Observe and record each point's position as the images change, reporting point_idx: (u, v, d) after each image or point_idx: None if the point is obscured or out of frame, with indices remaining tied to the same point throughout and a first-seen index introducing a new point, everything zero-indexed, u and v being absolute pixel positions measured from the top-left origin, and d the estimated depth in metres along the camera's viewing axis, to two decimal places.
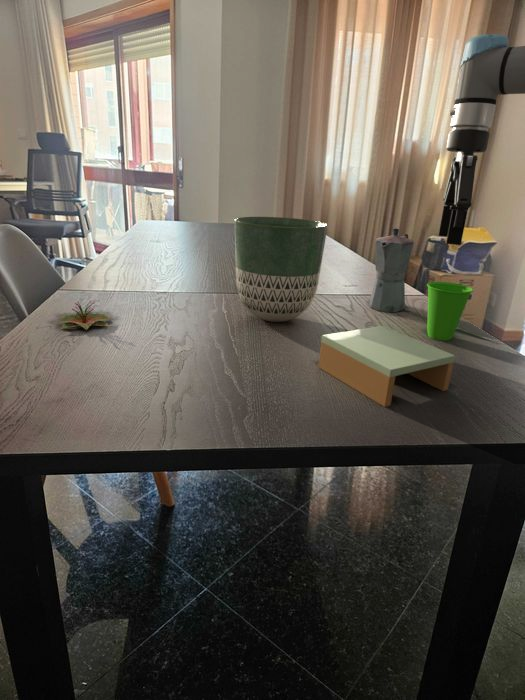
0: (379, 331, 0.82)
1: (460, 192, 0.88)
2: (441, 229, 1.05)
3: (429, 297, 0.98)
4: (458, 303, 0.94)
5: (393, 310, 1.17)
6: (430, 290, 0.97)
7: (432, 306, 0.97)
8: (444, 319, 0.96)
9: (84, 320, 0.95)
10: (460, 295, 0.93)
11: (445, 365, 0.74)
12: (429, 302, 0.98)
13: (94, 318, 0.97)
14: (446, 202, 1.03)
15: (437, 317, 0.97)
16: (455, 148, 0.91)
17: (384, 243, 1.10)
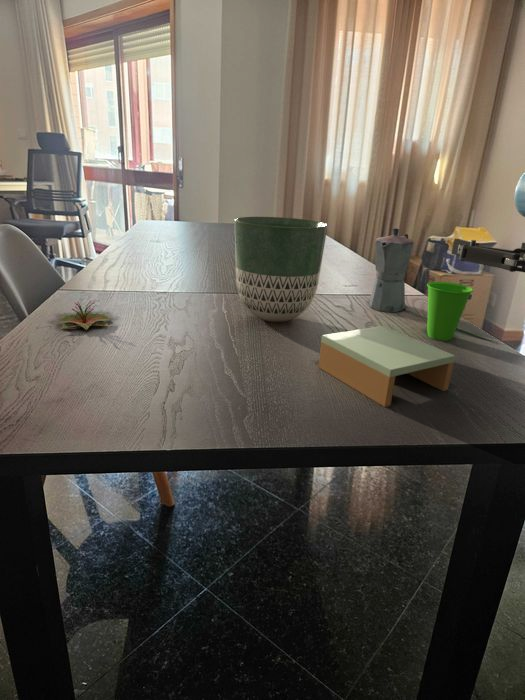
0: (379, 331, 0.82)
1: None
2: None
3: (429, 297, 0.98)
4: (458, 303, 0.94)
5: (393, 310, 1.17)
6: (430, 290, 0.97)
7: (432, 306, 0.97)
8: (444, 319, 0.96)
9: (84, 320, 0.95)
10: (460, 295, 0.93)
11: (445, 365, 0.74)
12: (429, 302, 0.98)
13: (94, 318, 0.97)
14: None
15: (437, 317, 0.97)
16: None
17: (384, 243, 1.10)
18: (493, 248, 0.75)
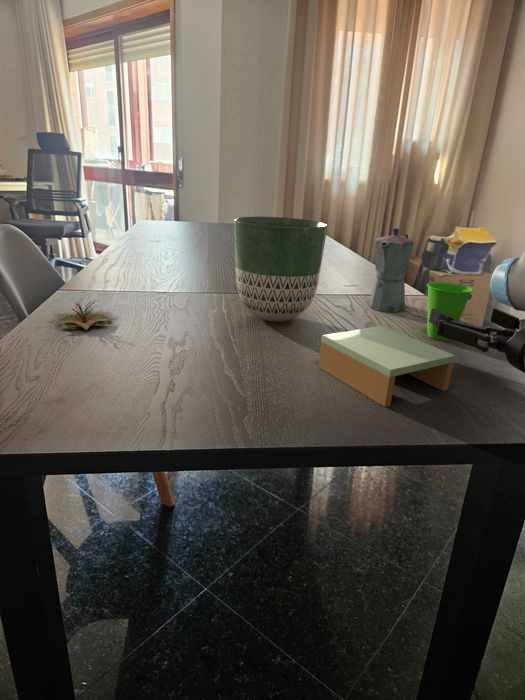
0: (379, 331, 0.82)
1: None
2: None
3: (429, 297, 0.98)
4: (458, 303, 0.94)
5: (393, 310, 1.17)
6: (430, 290, 0.97)
7: (432, 306, 0.97)
8: None
9: (84, 320, 0.95)
10: (460, 295, 0.93)
11: (445, 365, 0.74)
12: (429, 302, 0.98)
13: (94, 318, 0.97)
14: None
15: None
16: None
17: (384, 243, 1.10)
18: (467, 325, 0.82)
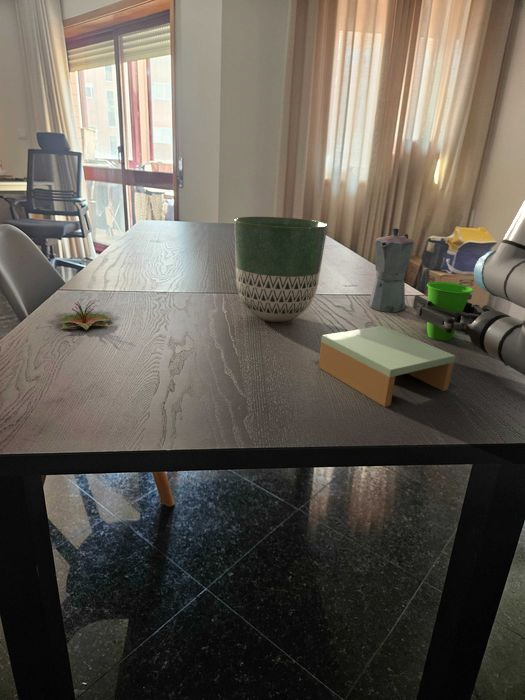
0: (379, 331, 0.82)
1: None
2: None
3: (429, 297, 0.98)
4: (458, 303, 0.94)
5: (393, 310, 1.17)
6: (430, 290, 0.97)
7: None
8: None
9: (84, 320, 0.95)
10: (460, 295, 0.93)
11: (445, 365, 0.74)
12: None
13: (94, 318, 0.97)
14: None
15: None
16: None
17: (384, 243, 1.10)
18: (441, 309, 0.92)
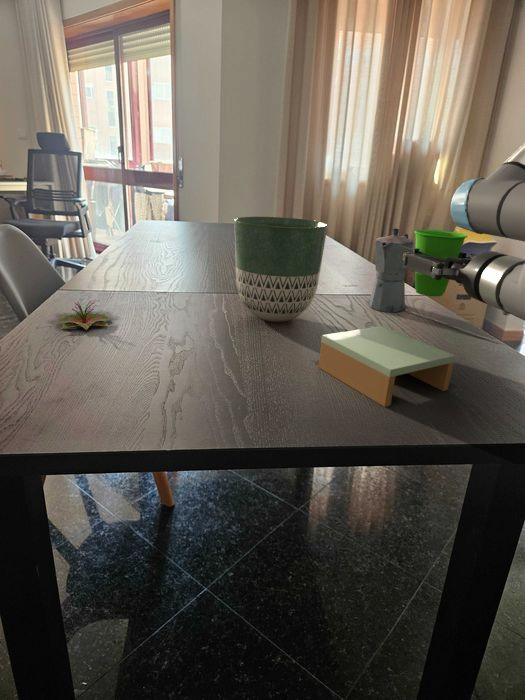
0: (379, 331, 0.82)
1: None
2: None
3: (417, 245, 0.84)
4: (450, 250, 0.81)
5: (393, 310, 1.17)
6: (418, 237, 0.83)
7: None
8: None
9: (84, 320, 0.95)
10: (452, 240, 0.80)
11: (445, 365, 0.74)
12: None
13: (94, 318, 0.97)
14: None
15: None
16: None
17: (384, 243, 1.10)
18: (430, 256, 0.78)
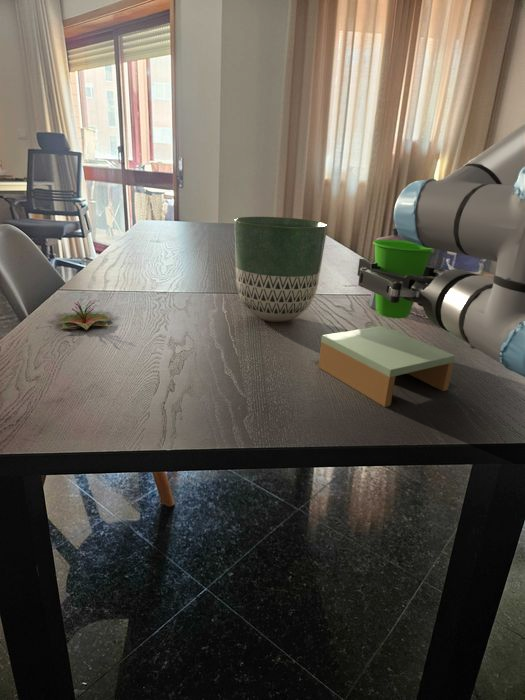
0: (379, 331, 0.82)
1: None
2: None
3: (376, 259, 0.71)
4: (413, 265, 0.68)
5: None
6: (377, 249, 0.71)
7: None
8: None
9: (84, 320, 0.95)
10: (416, 254, 0.67)
11: (445, 365, 0.74)
12: None
13: (94, 318, 0.97)
14: None
15: None
16: None
17: None
18: (388, 273, 0.66)
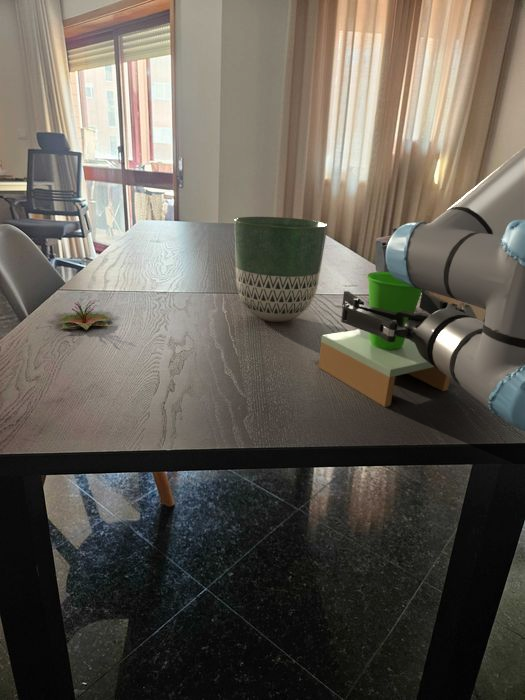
0: None
1: None
2: None
3: (370, 292, 0.73)
4: (406, 300, 0.70)
5: None
6: (370, 283, 0.72)
7: (374, 304, 0.72)
8: None
9: (84, 320, 0.95)
10: (408, 289, 0.69)
11: None
12: (370, 299, 0.73)
13: (94, 318, 0.97)
14: None
15: None
16: None
17: (384, 243, 1.10)
18: (375, 310, 0.66)
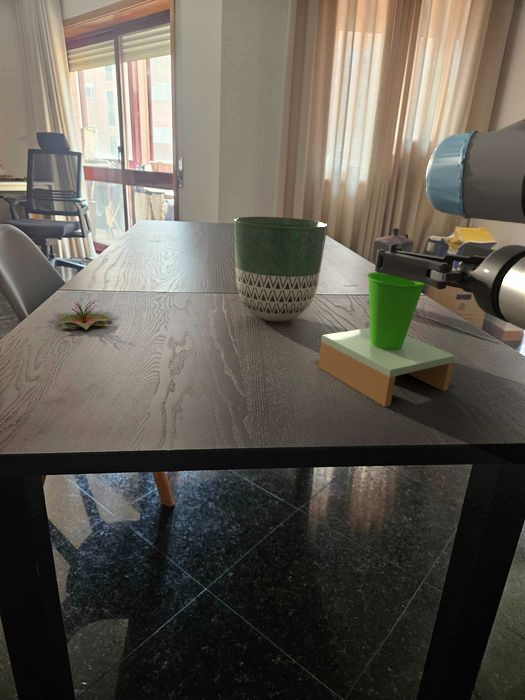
0: None
1: None
2: None
3: (370, 292, 0.73)
4: (406, 300, 0.70)
5: None
6: (370, 283, 0.72)
7: (374, 304, 0.72)
8: (389, 321, 0.71)
9: (84, 320, 0.95)
10: (408, 289, 0.69)
11: (445, 365, 0.74)
12: (370, 299, 0.73)
13: (94, 318, 0.97)
14: None
15: (380, 319, 0.72)
16: None
17: None
18: (418, 255, 0.54)
